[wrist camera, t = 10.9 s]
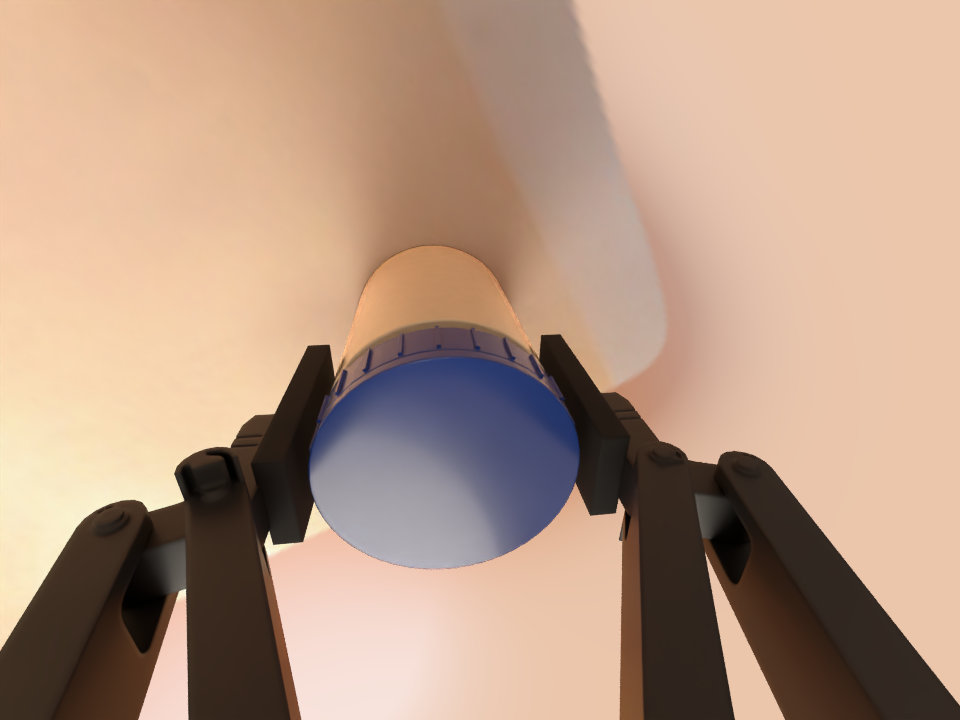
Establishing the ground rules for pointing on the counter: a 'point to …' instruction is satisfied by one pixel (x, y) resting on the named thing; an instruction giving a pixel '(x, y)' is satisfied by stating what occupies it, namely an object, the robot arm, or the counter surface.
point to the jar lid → (442, 450)
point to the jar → (430, 301)
